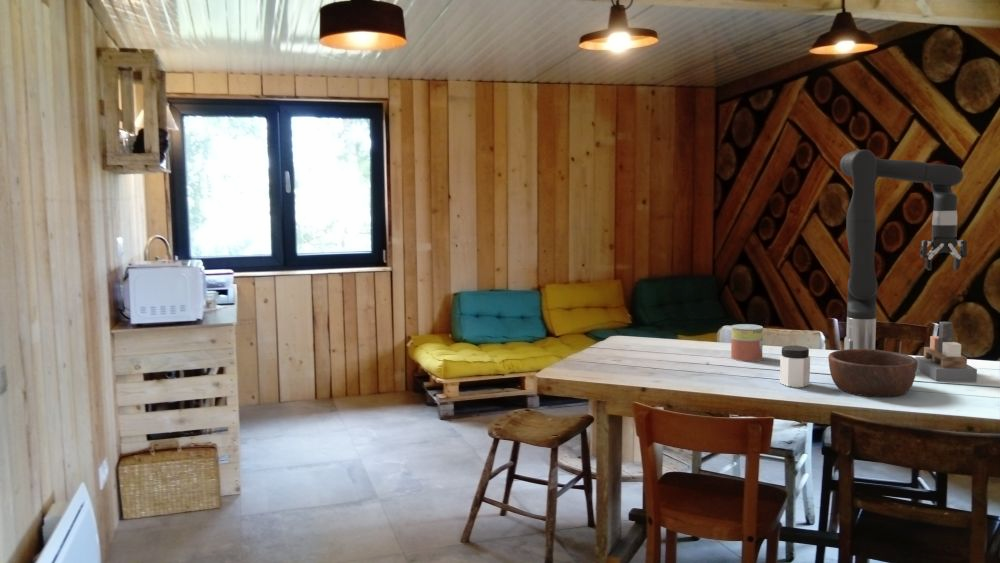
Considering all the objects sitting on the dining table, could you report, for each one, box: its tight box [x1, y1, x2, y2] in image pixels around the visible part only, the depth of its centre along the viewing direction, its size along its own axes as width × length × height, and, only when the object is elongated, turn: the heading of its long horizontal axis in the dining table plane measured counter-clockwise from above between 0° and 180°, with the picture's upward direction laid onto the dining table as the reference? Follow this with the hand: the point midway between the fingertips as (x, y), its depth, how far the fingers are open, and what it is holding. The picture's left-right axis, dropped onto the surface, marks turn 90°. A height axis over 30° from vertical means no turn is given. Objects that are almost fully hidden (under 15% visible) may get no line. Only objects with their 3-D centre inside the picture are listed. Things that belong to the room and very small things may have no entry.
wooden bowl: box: [827, 349, 918, 398], centre depth 236 cm, size 25×25×10 cm
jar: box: [779, 345, 811, 388], centre depth 243 cm, size 9×8×12 cm
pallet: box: [923, 321, 968, 369], centre depth 250 cm, size 7×16×14 cm, turn 171°
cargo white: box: [942, 341, 962, 357], centre depth 245 cm, size 4×4×4 cm
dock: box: [914, 356, 978, 383], centre depth 251 cm, size 12×18×4 cm, turn 171°
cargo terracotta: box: [929, 335, 939, 350], centre depth 255 cm, size 4×4×4 cm
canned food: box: [730, 323, 764, 363], centre depth 282 cm, size 11×11×12 cm
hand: (942, 270), depth 264 cm, fingers open, 8 cm apart
